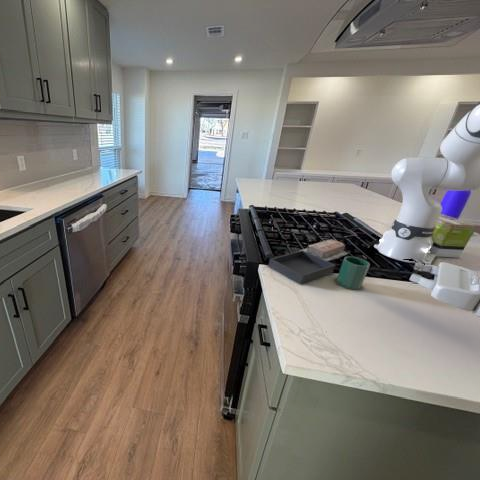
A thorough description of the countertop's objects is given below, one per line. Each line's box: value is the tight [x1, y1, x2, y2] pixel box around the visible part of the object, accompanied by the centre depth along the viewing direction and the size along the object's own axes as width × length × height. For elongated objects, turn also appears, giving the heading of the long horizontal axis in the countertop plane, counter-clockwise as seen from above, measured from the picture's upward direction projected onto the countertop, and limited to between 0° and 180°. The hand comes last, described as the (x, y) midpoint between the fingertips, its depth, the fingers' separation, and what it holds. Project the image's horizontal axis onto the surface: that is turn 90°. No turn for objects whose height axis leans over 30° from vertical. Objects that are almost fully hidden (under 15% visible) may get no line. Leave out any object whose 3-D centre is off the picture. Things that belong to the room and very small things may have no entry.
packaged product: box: [299, 238, 349, 262], centre depth 103 cm, size 18×5×10 cm
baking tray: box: [268, 249, 336, 285], centre depth 92 cm, size 18×13×3 cm
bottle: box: [440, 190, 472, 219], centre depth 127 cm, size 8×8×30 cm
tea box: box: [430, 214, 478, 258], centre depth 109 cm, size 15×10×15 cm, turn 177°
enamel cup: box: [335, 256, 371, 290], centre depth 82 cm, size 7×7×8 cm
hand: (412, 270), depth 71 cm, fingers open, 8 cm apart
